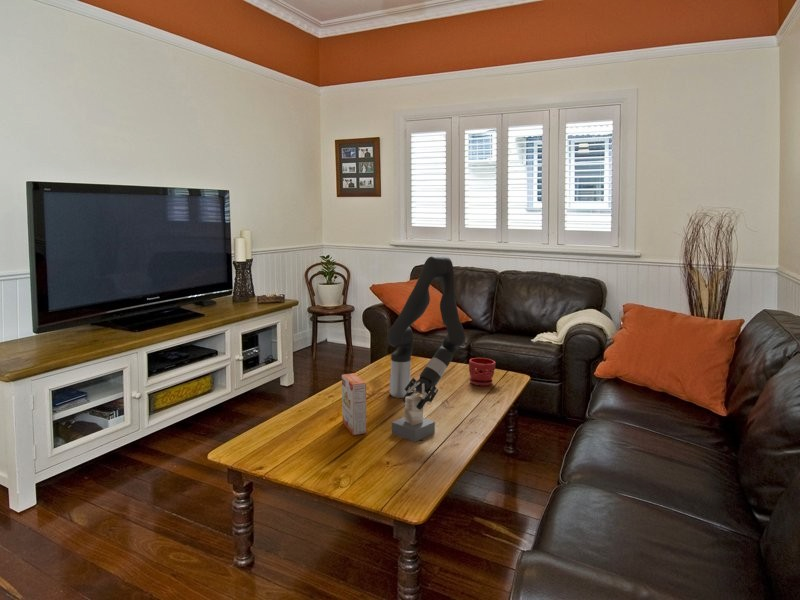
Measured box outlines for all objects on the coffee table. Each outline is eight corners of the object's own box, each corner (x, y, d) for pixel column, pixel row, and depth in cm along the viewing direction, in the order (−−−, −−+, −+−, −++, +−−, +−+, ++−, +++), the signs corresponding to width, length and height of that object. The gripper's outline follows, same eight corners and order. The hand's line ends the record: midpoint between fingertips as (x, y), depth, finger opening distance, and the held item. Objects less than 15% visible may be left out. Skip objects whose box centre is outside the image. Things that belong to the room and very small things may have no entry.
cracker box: (341, 423, 224) (341, 374, 220) (355, 421, 226) (355, 372, 223) (352, 436, 211) (351, 384, 208) (366, 433, 213) (366, 382, 210)
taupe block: (404, 421, 214) (405, 396, 213) (414, 418, 217) (415, 394, 216) (412, 425, 210) (413, 400, 209) (422, 422, 213) (423, 397, 212)
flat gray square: (391, 434, 214) (391, 422, 213) (411, 425, 223) (411, 414, 222) (415, 443, 206) (415, 430, 205) (434, 433, 215) (434, 421, 214)
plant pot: (488, 389, 268) (489, 365, 266) (464, 384, 275) (464, 361, 273) (498, 382, 279) (499, 359, 277) (475, 377, 286) (475, 355, 284)
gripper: (416, 362, 220) (394, 395, 215) (440, 370, 209) (417, 405, 204) (426, 372, 225) (404, 405, 219) (450, 381, 214) (428, 415, 208)
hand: (411, 405), depth 212 cm, fingers open, 8 cm apart
